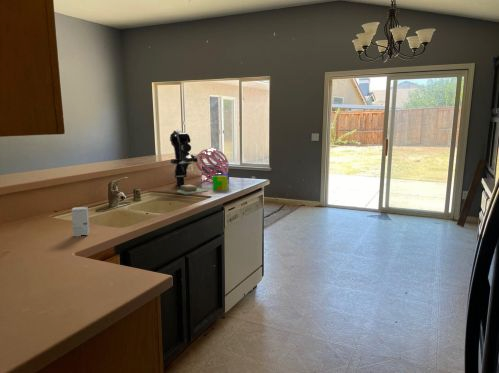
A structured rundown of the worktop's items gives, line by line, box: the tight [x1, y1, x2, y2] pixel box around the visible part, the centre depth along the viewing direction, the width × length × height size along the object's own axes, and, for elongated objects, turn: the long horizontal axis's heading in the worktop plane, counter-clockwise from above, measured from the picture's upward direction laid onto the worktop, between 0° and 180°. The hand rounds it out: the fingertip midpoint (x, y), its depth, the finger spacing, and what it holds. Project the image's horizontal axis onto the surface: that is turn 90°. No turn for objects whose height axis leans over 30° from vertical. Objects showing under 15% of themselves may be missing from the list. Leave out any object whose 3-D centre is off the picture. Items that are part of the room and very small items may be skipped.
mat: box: [175, 187, 209, 196], centre depth 252 cm, size 14×18×1 cm
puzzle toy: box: [212, 173, 230, 191], centre depth 259 cm, size 10×10×10 cm
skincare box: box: [71, 206, 91, 237], centre depth 157 cm, size 6×4×12 cm
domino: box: [180, 184, 198, 192], centre depth 254 cm, size 3×7×10 cm
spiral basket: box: [194, 148, 230, 184], centre depth 288 cm, size 28×28×27 cm
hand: (184, 172), depth 260 cm, fingers closed
